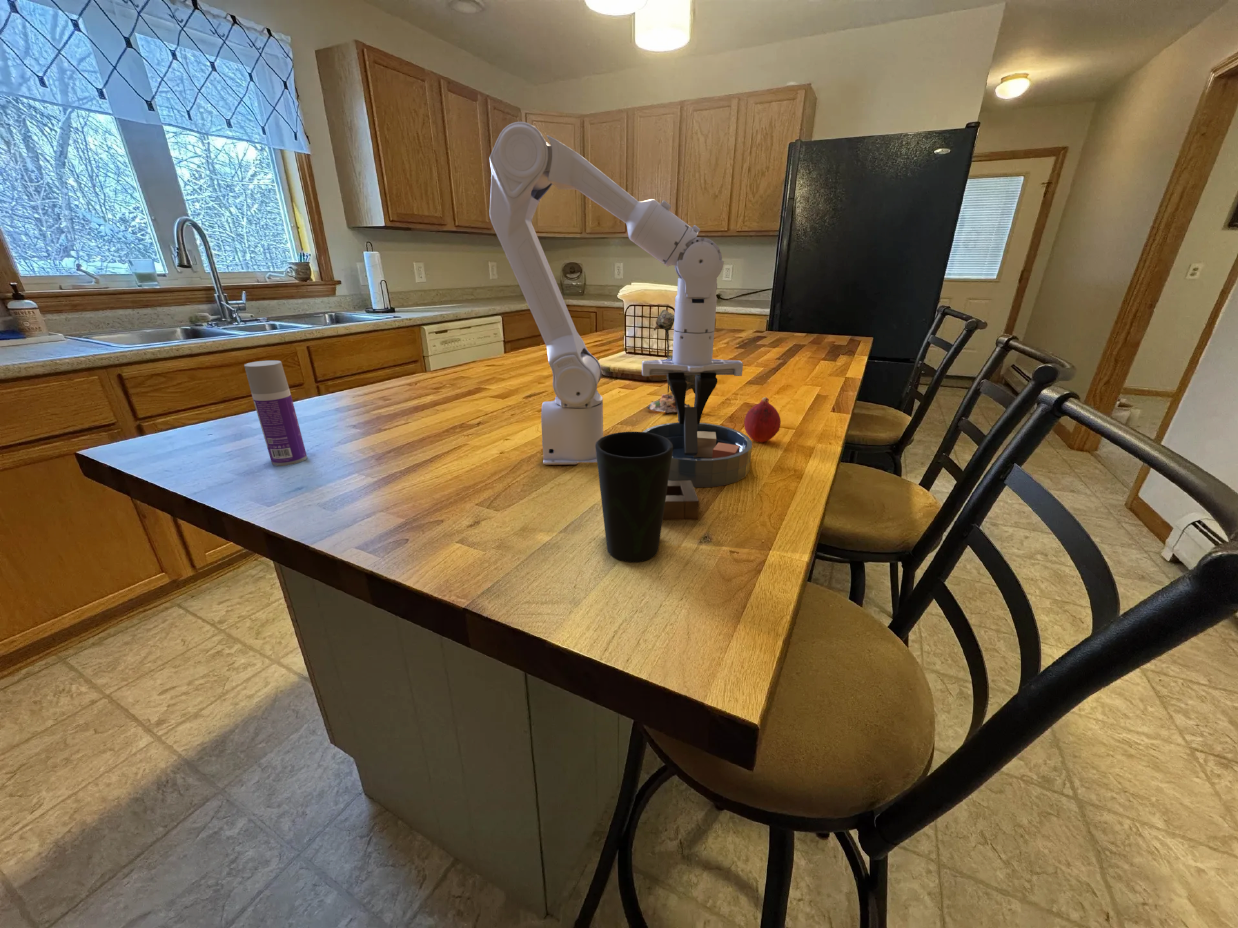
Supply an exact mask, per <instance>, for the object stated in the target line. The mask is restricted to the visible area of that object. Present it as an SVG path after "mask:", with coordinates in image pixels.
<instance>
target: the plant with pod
mask: <svg viewBox="0 0 1238 928" xmlns="http://www.w3.org/2000/svg"><path fill="white" fill-rule="evenodd" d="M674 317H675V314H673V313H672V312H670V311H668V310H667V309H662V310H661V311H660V313H659V314H658V317H657V319H656V321H655V326H654V328H653V331H654V332H655V331H657V329H661V330H664V331H665V339H666V340H665V341H666V359H673V355H670V344H669V343H670V341H669V340H670V334H669V333H670V331H671V330H672V328H673V327H674ZM684 377H686V379H685V381H686V383H687V388H686V392H687V391H689V390H692V391H693V393H694V394H695V375H684ZM666 379H667V380H666V381H667V394H666V393H662V394H661V398H660V399H658V400H655V401H653V400H651V401H650V404H648V406H647V407H646V409H647V410H650V411H653V412H662V413H664V414H665V413H666V414H668V413H677V407H676V402H675V398H674V395H673V392H672V389H671V386H670V383H669V381H668V378H667V377H666ZM669 392H670V393H671V394H669ZM685 407H691V405H690V404H689V403H688V404H687V403H685Z"/></svg>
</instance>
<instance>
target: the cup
mask: <svg viewBox="0 0 1238 928" xmlns="http://www.w3.org/2000/svg"><path fill="white" fill-rule="evenodd" d="M595 448H596V457H597V462H596V464H597V473H598V480H599V482H598V483H599V490H600V500H601V507H602V517H603V525H604V526H603V527H604V535H605V542H606V550H607V553H608V554H609V556H610V557H612V558H614V559H615V560H618V561H621V562H625V563H641V562H645V561H649V560H651V559H653V558H654V557H655V556H656V555H657V554H658V552H659V549H660V540H661V534H662V528H663V521H664V520H663V514H664V507H665V500H666V493H667V486H668V479H669V472H670V465H671V458H672V451H673V444H672V443H671V441H670V440H668V439H667V438H665V437H663V436H660V435H657V434H653V433H647V432H643V431H620V432H615V433H614V432H613V433H609V434H606V435H603V437H602V438H600V439H599V440H598V441H597V442H596V445H595Z"/></svg>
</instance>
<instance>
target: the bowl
mask: <svg viewBox="0 0 1238 928" xmlns="http://www.w3.org/2000/svg"><path fill="white" fill-rule="evenodd" d="M697 431H705V432H716V445H717V444H718V443H725V444H732V445H739V446H740V450H739V453H737V454H735V455H731V456H727V457H721V458H703V457H694V455H684V424H679V421H677V422H667V423H663V424H662V423H661V424H658V425H654V426H651V427H648V428H646V429H645V430H643V431H642V432H647V433H653V434H657V435H660V436H663V437H665V438H667V439H668V440H670V441H671V443H672V444H673V451H672V458H671V465H670V472H669V479H668V481H688V480H691V481H692V484H693V487H694V488H714V487H715V488H716V487H722V486H727V485H730V484H734V483H737V482H739V481H741V480H743V479H744V478H746V477H747V475H748V474H749V473H750V470H751V459H752V450H753V440H752V439H751V438H750V437H749V435H747V434H745V433H743V432H741V431H739V430H736V429H734V428H733V427H732V428H731V427H729V426H728V427H727V426H725V425H724V426H723V425H720V424H713V423H707V422H700V424H697Z"/></svg>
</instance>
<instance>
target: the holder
mask: <svg viewBox="0 0 1238 928" xmlns="http://www.w3.org/2000/svg"><path fill="white" fill-rule="evenodd" d="M695 489H696V488H695V487H693V484H692V481H691V480H688V481H668V486H667V493H666V500H665V507H664V514H663V521H694V520H695V521H697V520H699V506H700V499H699V498H698V495H697V492H696V490H695Z"/></svg>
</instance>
